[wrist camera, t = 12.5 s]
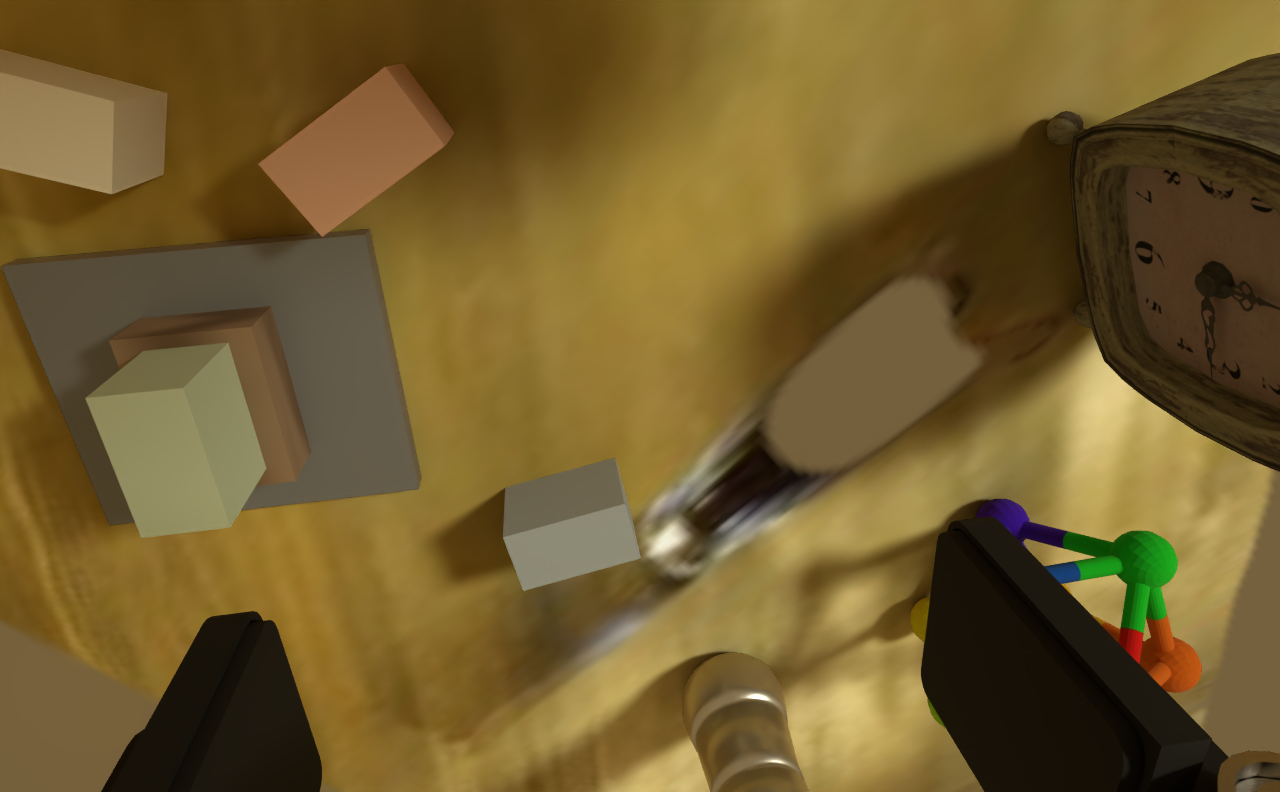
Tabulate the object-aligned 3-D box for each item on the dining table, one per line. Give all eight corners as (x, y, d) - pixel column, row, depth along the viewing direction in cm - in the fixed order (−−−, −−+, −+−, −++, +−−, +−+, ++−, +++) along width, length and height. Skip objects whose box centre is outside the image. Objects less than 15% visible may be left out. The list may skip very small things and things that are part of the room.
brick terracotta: (403, 63, 35) (384, 66, 30) (455, 132, 36) (445, 146, 32) (291, 148, 36) (257, 163, 31) (347, 212, 37) (322, 236, 33)
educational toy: (1060, 425, 49) (1293, 562, 35) (1069, 578, 55) (1273, 748, 41) (836, 514, 48) (989, 693, 34) (868, 662, 53) (1011, 865, 40)
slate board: (369, 228, 37) (365, 234, 36) (421, 478, 43) (418, 489, 42) (16, 259, 36) (0, 266, 35) (120, 513, 42) (109, 525, 41)
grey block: (614, 456, 45) (624, 503, 40) (629, 507, 46) (640, 558, 42) (505, 486, 44) (502, 537, 40) (523, 536, 46) (523, 590, 42)
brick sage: (143, 350, 34) (85, 398, 30) (228, 342, 35) (183, 388, 30) (188, 477, 37) (141, 537, 33) (266, 468, 37) (230, 527, 33)
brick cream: (168, 92, 34) (113, 101, 30) (164, 174, 35) (111, 194, 31) (-1, 48, 33) (-86, 49, 28) (1, 135, 34) (-79, 150, 29)
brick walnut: (271, 305, 37) (251, 326, 34) (311, 451, 41) (295, 481, 38) (139, 318, 37) (108, 340, 34) (191, 465, 40) (167, 495, 37)
